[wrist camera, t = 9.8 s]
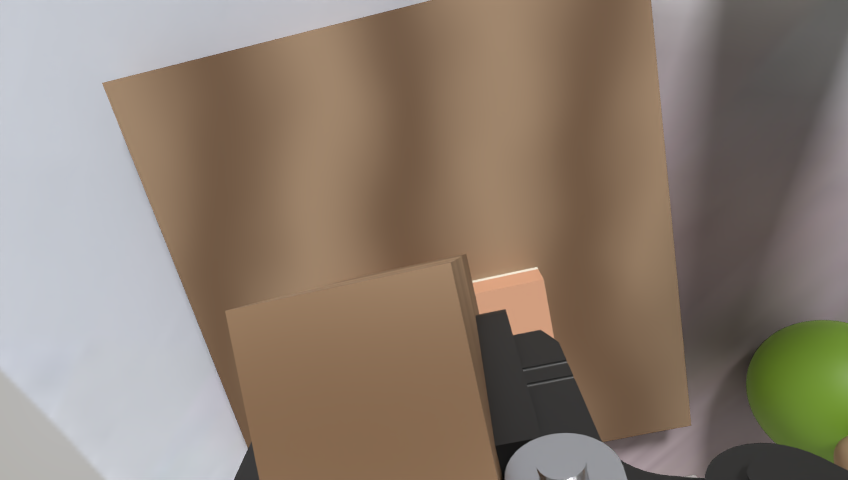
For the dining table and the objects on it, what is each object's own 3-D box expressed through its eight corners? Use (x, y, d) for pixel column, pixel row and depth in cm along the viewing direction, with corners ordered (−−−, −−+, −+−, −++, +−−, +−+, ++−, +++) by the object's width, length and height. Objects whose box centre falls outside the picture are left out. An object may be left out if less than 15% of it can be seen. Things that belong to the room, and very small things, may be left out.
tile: (543, 279, 19) (572, 442, 22) (536, 266, 20) (564, 422, 23) (323, 325, 20) (372, 480, 22) (328, 311, 21) (375, 459, 23)
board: (628, -46, 19) (645, -54, 17) (675, 403, 24) (691, 425, 23) (125, 80, 20) (102, 83, 18) (279, 479, 25) (270, 504, 24)
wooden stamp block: (208, 308, 13) (-100, 379, 6) (636, 217, 12) (847, 177, 5) (260, 566, 13) (4, 942, 6) (699, 493, 12) (1006, 837, 5)
